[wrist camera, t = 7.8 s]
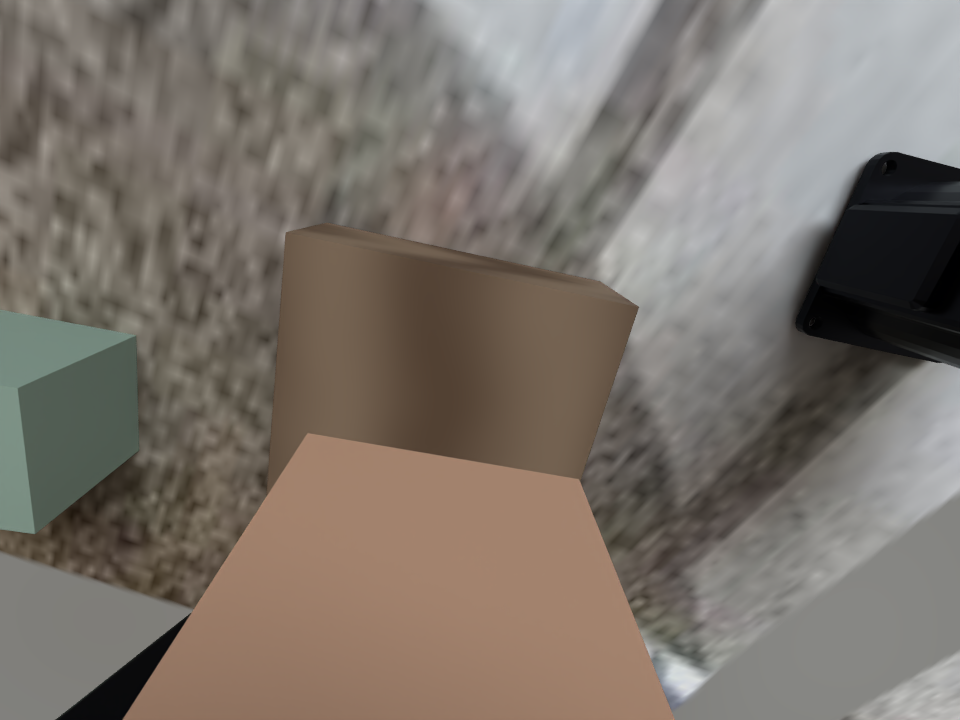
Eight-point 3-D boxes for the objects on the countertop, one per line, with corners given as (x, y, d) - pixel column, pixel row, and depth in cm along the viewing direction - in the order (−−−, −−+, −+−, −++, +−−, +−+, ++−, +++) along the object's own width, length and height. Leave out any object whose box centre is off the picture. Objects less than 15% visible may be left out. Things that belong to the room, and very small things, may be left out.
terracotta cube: (578, 479, 9) (713, 818, 4) (515, 666, 10) (558, 1064, 6) (307, 433, 8) (96, 760, 3) (285, 638, 10) (122, 1050, 5)
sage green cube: (137, 334, 17) (17, 388, 13) (140, 449, 19) (35, 534, 14) (-8, 307, 17) (-190, 352, 12) (7, 427, 18) (-147, 508, 14)
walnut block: (600, 281, 17) (639, 307, 13) (533, 503, 20) (548, 573, 17) (326, 222, 16) (286, 232, 12) (302, 466, 19) (263, 532, 16)
